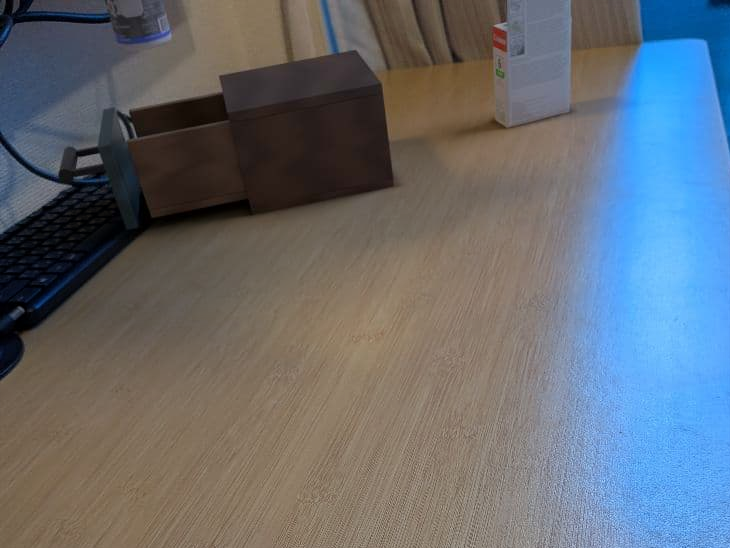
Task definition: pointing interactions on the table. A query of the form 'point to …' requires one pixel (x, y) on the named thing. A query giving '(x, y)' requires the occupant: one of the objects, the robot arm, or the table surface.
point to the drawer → (166, 158)
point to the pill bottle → (140, 26)
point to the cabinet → (308, 130)
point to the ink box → (532, 61)
